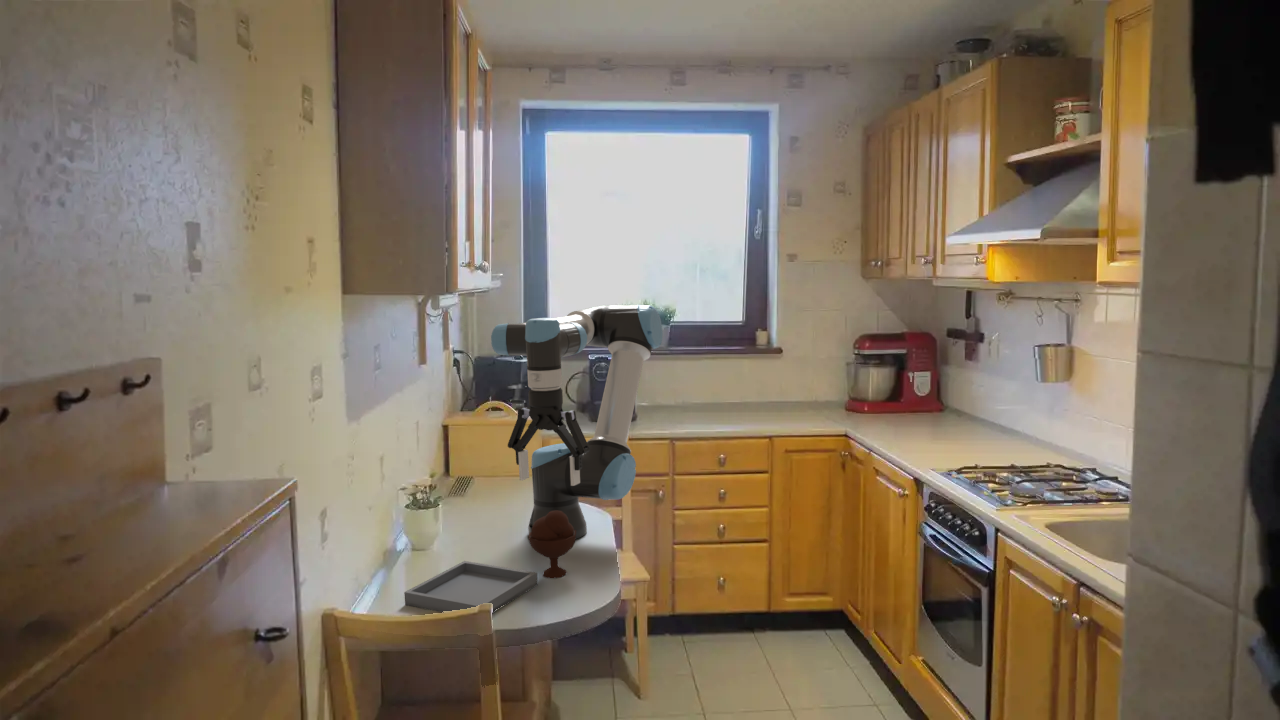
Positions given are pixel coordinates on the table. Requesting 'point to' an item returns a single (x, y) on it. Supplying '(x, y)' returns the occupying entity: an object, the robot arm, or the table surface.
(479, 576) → the tray
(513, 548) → the table surface
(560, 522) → the ice cream bowl
